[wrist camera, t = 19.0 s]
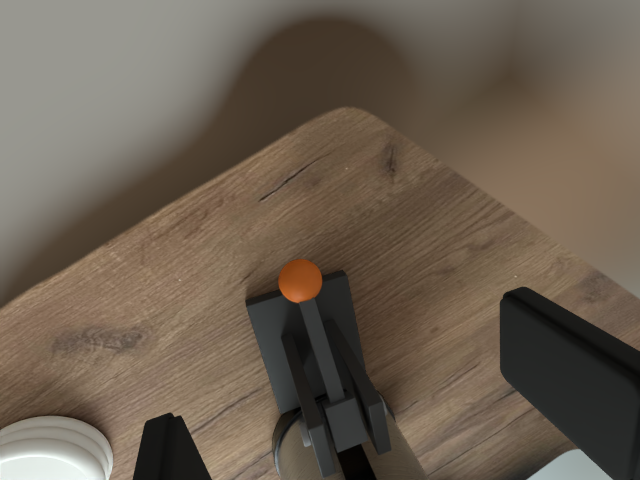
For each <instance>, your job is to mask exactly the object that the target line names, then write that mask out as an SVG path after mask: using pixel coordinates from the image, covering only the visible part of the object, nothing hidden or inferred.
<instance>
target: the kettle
mask: <svg viewBox="0 0 640 480" xmlns="http://www.w3.org/2000/svg"><path fill="white" fill-rule="evenodd" d="M343 391H344V392H346V391H347V390H346V389H343ZM376 391H377V390H376ZM377 392H378V391H377ZM378 394H379V395H380V396H381V397H382V399H383V401H384V403H385V406H386V409H387V415H386V422H387V427H388V433H389V438H390V444H391V449H392V450H391V451H389V452H386V453H384V454H382V455H378V454H377V452H376V450H375V448H374V446H373V444H372V441H371V439H370V437H369V435H368V433H367V431H366V433H367V436H368V441H366V442H363V443H361V444H358V445H356V446H353V447H351V448H348V449H346V450H344V451H341V452H339V453H338V452H337V451H336V448H335V446H334V444H333V442H332V440H331V436H330V433H329V430H328V426H327V423H326V420H325V416H324V413H323V410H322V406H321V403H320V401H322V400H325V399H328V397H327V394H326V393H325V394H323V395H320V396H318V397H316V398H314V399H315V402H316V405H317V408H318V410H319V413H320V416H321V419H322V422H323V425H324V429H325V432H326V436H327V440H328V444H329V447H330V451H331V455H332V459H333V462H334V466H335V470H336V473H335V474H333V475H330V476H328V477H325V478H322V477H321V474H320V470H319V467H318V463H317V460H316V457H315V453H314V450H313V446H312V445H310V446H307V447H305V446H304V443H303V439H302V436H301V432H300V429H299V425H300V424H303V423H305V419H304V416H303V412H302V409H301V406H300V407H298V408H295V409H292V410H290V411H287V412H284V414H283V415H282V416H281V418H280V420H279V422H278V423H277V426H276V428H275V431H274V435H273V440H272V451H273V457H274V463H275V467H276V470H277V472H278V475H279V476H280V479H281V480H429V478H428V476H427V475H426V473H425V471H424V470H423V468H422V466H421V465H420V463H419V461H418V459H417V458H416V456H415V454H414V453H413V451H412V449H411V448H410V446H409V444H408V443H407V441H406V439H405V438H404V436H403V434H402V433H401V431H400V429H399V427H398V426H397V424H396V421H395V417H394V414H393V412H392V410H391V408H390V407H389V405H388V403H387V402H386V400H385V399H384V397H383V396H382V395H381V394H380V393H379V392H378ZM365 430H366V429H365Z"/></svg>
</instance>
